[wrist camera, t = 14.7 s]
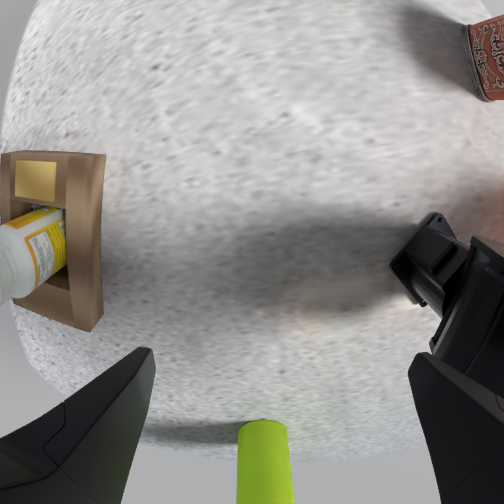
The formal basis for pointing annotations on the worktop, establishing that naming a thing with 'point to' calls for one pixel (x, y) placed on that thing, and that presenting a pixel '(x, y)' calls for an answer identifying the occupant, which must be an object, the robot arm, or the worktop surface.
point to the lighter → (486, 57)
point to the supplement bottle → (31, 251)
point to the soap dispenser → (264, 464)
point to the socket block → (77, 227)
